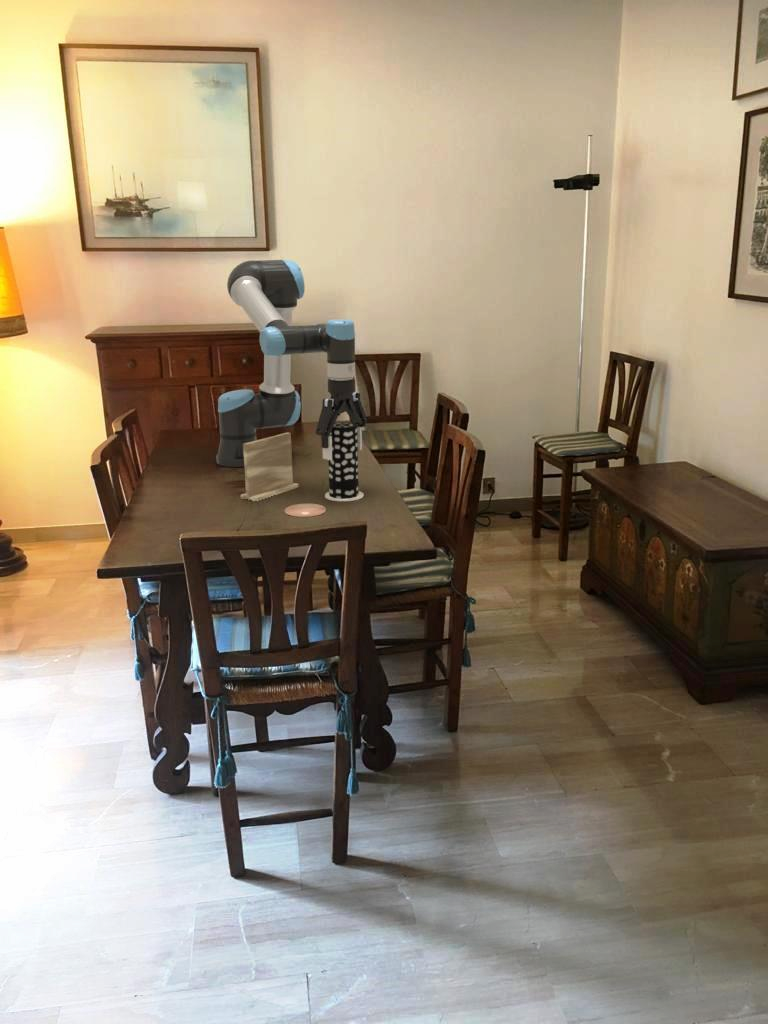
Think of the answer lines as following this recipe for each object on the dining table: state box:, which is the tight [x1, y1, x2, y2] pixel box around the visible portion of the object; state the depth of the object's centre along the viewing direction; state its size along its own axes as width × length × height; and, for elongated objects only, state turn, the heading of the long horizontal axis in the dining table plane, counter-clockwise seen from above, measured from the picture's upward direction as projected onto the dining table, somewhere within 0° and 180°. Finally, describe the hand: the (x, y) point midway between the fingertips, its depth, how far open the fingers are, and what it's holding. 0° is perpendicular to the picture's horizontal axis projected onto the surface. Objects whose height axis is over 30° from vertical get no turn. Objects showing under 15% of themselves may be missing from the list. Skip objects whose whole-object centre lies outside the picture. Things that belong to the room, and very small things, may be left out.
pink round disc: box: [284, 503, 327, 518], centre depth 218 cm, size 11×11×1 cm
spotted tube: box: [327, 421, 360, 499], centre depth 228 cm, size 8×8×20 cm
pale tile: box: [324, 490, 365, 503], centre depth 231 cm, size 11×11×1 cm
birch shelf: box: [240, 432, 300, 502], centre depth 232 cm, size 6×18×16 cm, turn 145°
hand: (342, 454), depth 228 cm, fingers open, 13 cm apart
